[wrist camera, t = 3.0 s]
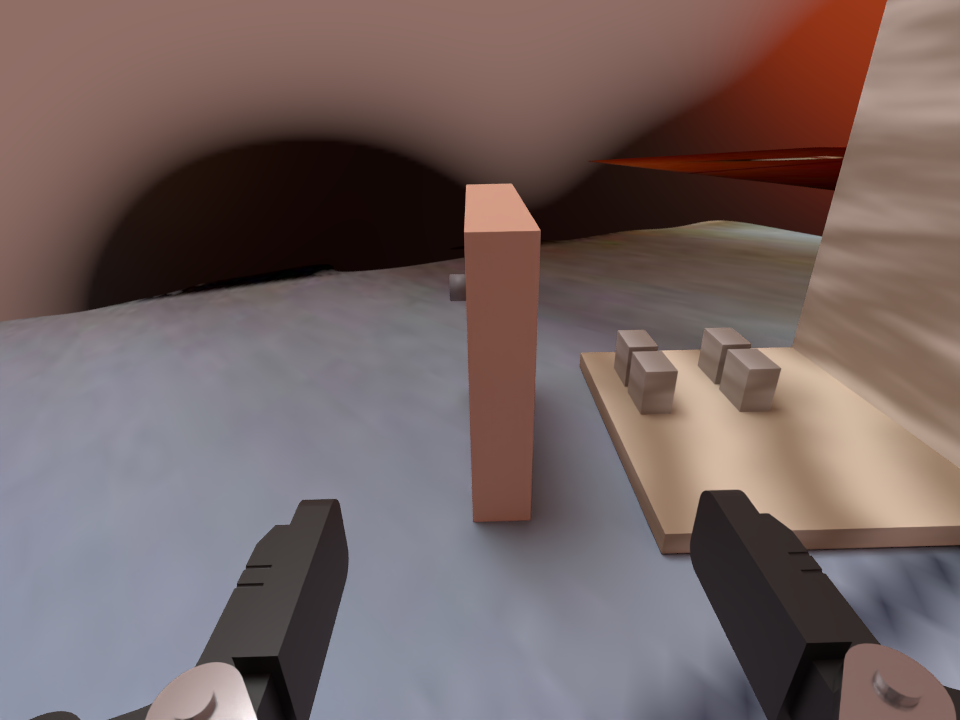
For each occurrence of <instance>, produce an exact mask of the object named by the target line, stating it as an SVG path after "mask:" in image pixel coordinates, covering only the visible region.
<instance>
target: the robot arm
mask: <svg viewBox="0 0 960 720" xmlns="http://www.w3.org/2000/svg"><path fill="white" fill-rule="evenodd" d="M690 555H691V561H692V565H693V568H694V570H695V573H696V575H697V577H698V579H699V581H700V583H701V585H702V587H703V589H704V591H705V593H706V595H707V597H708V599H709V601H710V603H711V605H712V607H713V609H714V611H715V613H716V615H717V617H718V619H719V621H720V623H721V626H722V628H723V630H724V632H725V634H726V636H727V638H728V640H729V642H730V644H731V646H732V648H733V650H734V652H735V654H736V656H737V658H738V660H739V662H740V664H741V666H742V668H743V670H744V672H745V674H746V676H747V678H748V680H749V683H750V685H751V687H752V689H753V691H754V693H755V695H756V697H757V699H758V701H759V703H760V705H761V707H762V709H763V711H764V713H765V715H766V717H767V719H768V720H960V690H956V689H952V688H949V687H946V686H943V685H942V684H941V683H940V682H939V681H938V680H937V679H936V678H935V677H934V675H933V674H931V673H930V672H929V671H928V670H927V669H926V668H925V667H923V666H922V665H921V664H919V663H918V662H916V661H915V660H913V659H912V658H910V657H908V656H907V655H905V654H903V653H901V652H899V651H897V650H894V649H892V648H889V647H886V646H882V645H881V644H880V643H879V642H878V641H877V640H876V638H875V637H874V636H873V635H872V633H871V632H870V631H869V629H868V628H867V627H866V625H865V624H864V623H863V622H862V620H861V619H860V618H859V616H858V615H857V614H856V613H855V611H854V610H853V609H852V607H851V606H850V605H849V604H848V602H847V601H846V600H845V598H844V597H843V596H842V594H841V593H840V592H839V591H838V589H837V588H836V587H835V585H834V584H833V583H832V582H831V580H830V579H829V578H828V576H827V575H826V574H823V573H822V569H821V567H820V566H819V565H818V563H817V562H816V561H815V560H814V558H813V557H812V556H809V554H808V550H807V549H806V548H805V547H804V545H803V544H802V543H801V541H800V540H799V539H798V538H797V536H796V535H795V534H794V532H793V531H792V530H791V529H789V528H788V527H787V526H785V525H784V524H783V523H781V522H780V521H779V520H777V519H776V518H775V517H773V516H772V515H771V514H769V513H759V512H758V511H757V509H756V508H755V506H754V505H753V504H752V502H751V501H750V500H749V498H748V497H747V495H746V494H745V493H744V492H743V491H741V490H705V491H703V492H702V493H701V495H700V499H699V503H698V508H697V512H696V517H695V521H694V526H693V531H692V535H691V540H690ZM348 559H349V557H348V547H347V541H346V536H345V530H344V525H343V519H342V514H341V508H340V504H339V501H338V500H337V499H320V500H302V501H301V502H300V503H299V505H298V507H297V510H296V512H295V514H294V517H293V519H292V521H291V523H290V525H275V526H274V527H273V528H272V529H271V530H270V531H269V532H268V533H267V534H266V535H265V536H264V537H263V538H262V539H261V540H260V541H259V542H258V543H257V545H256V547H255V549H254V551H253V553H252V555H251V557H250V559H249V561H248V563H247V565H246V570H244V571H243V573H242V575H241V577H240V579H239V581H238V583H237V588H235V589H234V591H233V593H232V595H231V597H230V599H229V601H228V603H227V605H226V607H225V609H224V611H223V613H222V615H221V617H220V619H219V621H218V623H217V625H216V627H215V629H214V631H213V633H212V635H211V637H210V639H209V641H208V643H207V645H206V647H205V649H204V651H203V653H202V655H201V657H200V659H199V661H198V662H197V664H196V666H195V667H194V668H192V669H190V670H188V671H186V672H184V673H183V674H181V675H180V676H178V677H177V678H176V679H174V680H173V681H172V682H170V683H169V684H168V685H167V686H166V687H165V688H164V689H163V690H162V692H161V693H160V694H159V695H158V696H157V698H156V699H155V701H154V702H153V703H152V704H150V705H148V706H146V707H143V708H141V709H138V710H135V711H132V712H129V713H126V714H123V715H121V716H118V717H115V718H112V719H109V720H309V717H310V714H311V710H312V706H313V702H314V699H315V695H316V691H317V687H318V684H319V680H320V676H321V672H322V669H323V665H324V661H325V657H326V654H327V650H328V646H329V642H330V639H331V635H332V631H333V627H334V624H335V620H336V616H337V612H338V609H339V605H340V601H341V597H342V594H343V590H344V586H345V582H346V578H347V573H348ZM30 720H80V719H79V718H78V717H77V716H76V715H74V714H73V713H70V712H65V711H57V712H51V713H46V714H43V715H40V716H37V717H35V718H33V719H30Z"/></svg>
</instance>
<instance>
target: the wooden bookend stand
mask: <svg viewBox="0 0 960 720" xmlns="http://www.w3.org/2000/svg"><path fill="white" fill-rule="evenodd" d="M657 350H658V346H657V344H656V343H655V342H654V341H653V340H652V338H651V337H650V336H649V335H648V333H647V332H646V331H645V330H618V334H617V343H616V352H592V353H581V355H580V368H581V371H582V373H583V375H584V377H585V380H586V382H587V384H588V387H589V389H590V391H591V394H592V396H593V398H594V400H595V403H596V405H597V407H598V410H599V412H600V414H601V416H602V419H603V421H604V423H605V426H606V428H607V430H608V432H609V435H610V437H611V439H612V442H613V444H614V446H615V448H616V451H617V453H618V455H619V458H620V460H621V462H622V464H623V467H624V469H625V471H626V474H627V476H628V478H629V480H630V483H631V485H632V487H633V490H634V492H635V494H636V496H637V499H638V501H639V503H640V506H641V508H642V510H643V512H644V515H645V517H646V519H647V522H648V524H649V526H650V528H651V531H652V533H653V535H654V538H655V540H656V542H657V544H658V547H659V549H660V551H661V554H664V553H690V540H691V535H692V531H693V526H694V521H695V517H696V512H697V508H698V503H699V499H700V495H701V493H702V492H703V491H705V490H741V491H743V492H744V493H745V494H746V495H747V497H748V498H749V500H750V501H751V502H752V504H753V505H754V506H755V508H756V509H757V511H758V512H759V513H769V514H771V515H772V516H773V517H775V518H776V519H777V520H779V521H780V522H781V523H783V524H784V525H785V526H787V527H788V528H789V529H791V530H792V531H793V532H794V534H795V535H796V536H797V538H798V539H799V540H800V541H801V543H802V544H803V545H804V547H805V548H806V549H838V548H872V547H907V546H942V545H960V0H887V3H886V8H885V11H884V15H883V18H882V22H881V25H880V29H879V33H878V37H877V40H876V43H875V47H874V51H873V54H872V58H871V62H870V66H869V69H868V73H867V76H866V80H865V83H864V88H863V91H862V94H861V98H860V102H859V105H858V109H857V113H856V116H855V120H854V123H853V127H852V131H851V134H850V138H849V142H848V145H847V149H846V153H845V156H844V160H843V163H842V167H841V171H840V174H839V178H838V182H837V185H836V189H835V193H834V196H833V200H832V204H831V207H830V211H829V215H828V218H827V222H826V225H825V229H824V233H823V236H822V240H821V243H820V247H819V251H818V254H817V258H816V262H815V265H814V269H813V273H812V276H811V280H810V283H809V287H808V291H807V294H806V298H805V302H804V305H803V309H802V313H801V316H800V320H799V323H798V327H797V331H796V334H795V338H794V342H793V345H792V347H787V348H751V343H750V342H748V341H747V340H746V339H745V338H743V337H742V336H741V335H740V334H738V333H737V332H736V331H735V330H734V329H732V328H705V329H704V334H703V340H702V345H701V350H670V351H657Z"/></svg>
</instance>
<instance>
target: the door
mask: <svg viewBox="0 0 960 720" xmlns="http://www.w3.org/2000/svg"><path fill="white" fill-rule="evenodd" d="M465 206H466V207H465V227H464V241H465V274H458V275H450V301H466V306H467V339H468V372H469V404H470V437H471V469H472V502H473V522H489V521H524V520H531V491H532V462H533V433H534V405H535V376H536V347H537V318H538V289H539V261H540V229H539V227H538V226H537V224H536V222H535V221H534V219H533V218H532V216H531V214H530V213H529V211H528V209H527V208H526V206H525V204H524V203H523V201H522V200H521V198H520V196H519V195H518V193H517V191H516V190H515V188H514V187H513V185H512V184H480V185H479V184H478V185H466V205H465Z"/></svg>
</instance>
